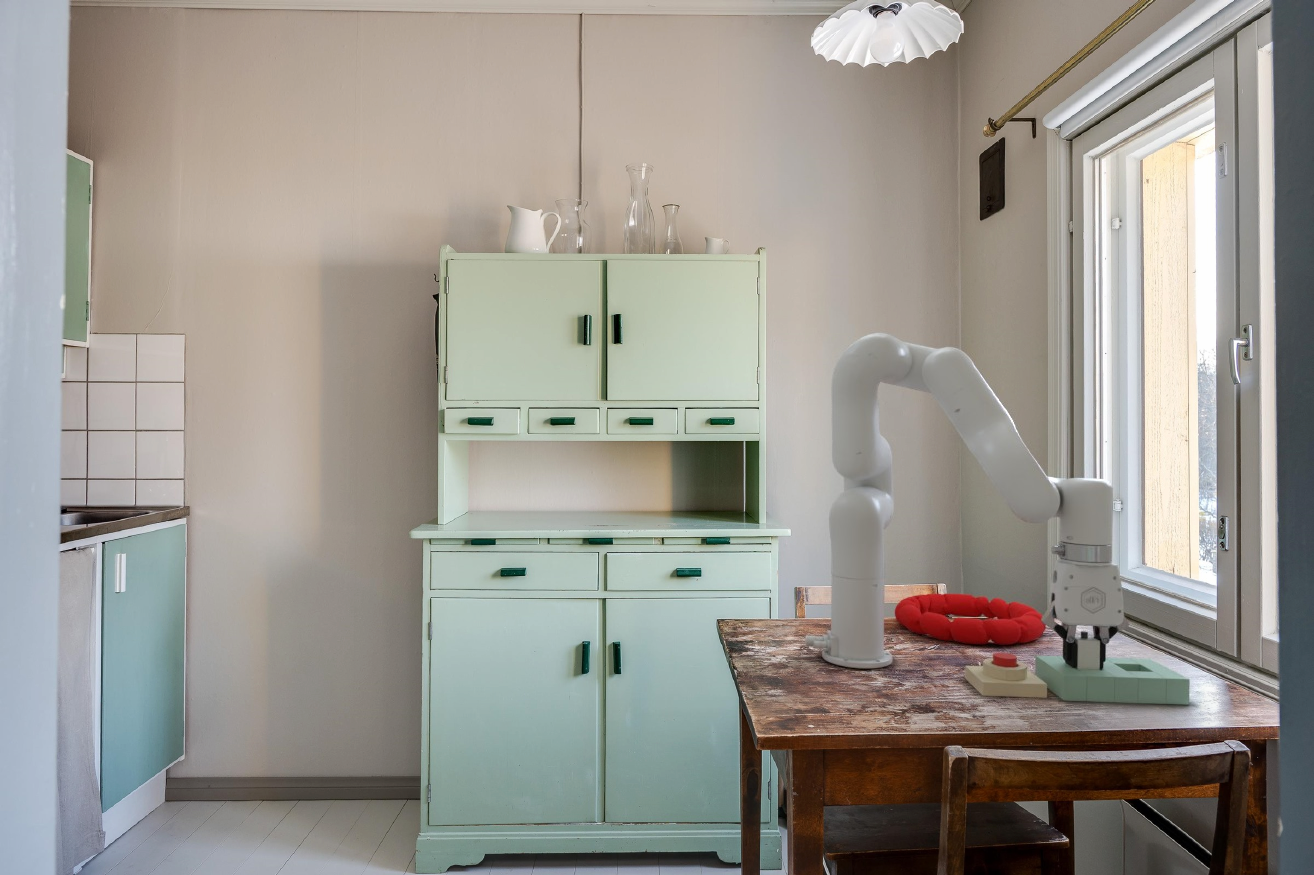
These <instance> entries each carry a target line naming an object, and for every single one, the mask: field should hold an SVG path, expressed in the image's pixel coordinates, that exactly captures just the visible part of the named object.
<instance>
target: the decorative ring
mask: <svg viewBox="0 0 1314 875" xmlns="http://www.w3.org/2000/svg"><path fill="white" fill-rule="evenodd" d="M951 615H952V616H954V617H955V618H953V620H952V621H951V620H950V619H949V617H947V616H951ZM982 615H983V616H984V617H985V618H987V619H984V620H982V619H980V617H981V616H982ZM894 617H895V619H896V621H897V623H898V624H900V625H901V626H903V627H905V628H906V629H907V630H909V631H910V632H912V633H915V634H918V635H928V636H930V637H931V638H934V639H937V640H939V641H944V642H945V641H947V642H949V641H956V642H959V643H962V644H968V645H979V646H983V645H987V644H989V641H992V643H994V644H995V645H998V646H999V645H1000V646H1011V645H1014V644H1016V643H1017V644H1026V643H1030V642H1032V641H1036V640H1037V639H1039V638H1040V637H1042V636H1043V635H1044V632H1045V631H1046V628H1047V625H1045V624H1043V623H1042V622H1041V619H1042V617H1043V614H1042V613H1040V612H1038V611H1037V610H1036V609H1035V608H1034V607H1032V606H1029V605H1027V604H1024V603H1020V602H1017V601H1011V602H1009V603H1007V602H1006V601H1005V600H1004V599H1002V598H1000V597H999V598H998V597H995V598H993V599H991V600H989V598H988V597H987V596H977V597H975V596H974V595H972V594H963V593H943V594H942V593H927V594H916V595H912V596H908V597H906V598H903V599H901V600H900V601H898V603H897V604H896V605H895V608H894Z"/></svg>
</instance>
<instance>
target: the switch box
mask: <svg viewBox="0 0 1314 875" xmlns="http://www.w3.org/2000/svg"><path fill="white" fill-rule="evenodd" d="M964 679H966V681H967V682H968V684H970V685H971V686H972V687H973V688H974V689H975V690H976V691H977V692H978V693H980V695H981V696H985V697H986V696H987V697H1012V698H1013V697H1014V698H1044V699H1046V698H1048V688H1047V684H1046V683H1045V682H1044V681H1042V680H1041V679H1040V678H1038V677H1037V676H1036V675H1035V673H1033V672H1032V671H1030V670H1029V669H1028V665H1027V664H1026V663H1024V662H1022V661H1018V660H1017V667H1001V666H997V665H994V664H993V657H991V658H985V659H984V660H983V661H982V665H964Z"/></svg>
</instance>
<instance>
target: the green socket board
mask: <svg viewBox="0 0 1314 875" xmlns="http://www.w3.org/2000/svg"><path fill="white" fill-rule="evenodd" d="M1034 658H1035V659H1034V660H1035V661H1034V662H1035V664H1034V665H1035V666H1034V675H1036V676H1037V677H1038V678H1040V679H1041V680H1042V681H1044V682H1045V683H1046V684H1047V690H1049V691H1051V692H1052V693H1054V695H1055V696H1057V697H1058V698H1060V699H1061V700H1063V701H1070V702H1096V703H1097V702H1098V703H1100V702H1102V703H1129V704H1152V705H1156V704H1157V705H1181V706H1183V705H1184V706H1185V705H1187V706H1189V705H1190V681H1191V680H1190V678H1188V677H1186V676H1184V675H1182V674H1180V673H1178V672H1176V671H1174V670H1173V669H1171V668H1169V667H1167V666H1164V665H1163V664H1161V663H1159V662H1157V661H1155V660H1153V659H1151V658H1136V657H1135V658H1134V657H1133V658H1131V657H1130V658H1129V657H1106V661H1105V662H1104V667H1103V669H1101V668H1100V670H1077V669H1075V668H1072V667H1071V666H1069V665H1068V664H1066V663H1065V660H1064V659H1063V655H1035V657H1034Z"/></svg>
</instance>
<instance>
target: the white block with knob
mask: <svg viewBox="0 0 1314 875" xmlns="http://www.w3.org/2000/svg"><path fill="white" fill-rule="evenodd" d="M1075 643H1077V645H1078V651H1077V667H1076V668H1075V669H1077V670H1100V641H1099V640H1097V639H1095V638H1094V636H1091V635H1089V632H1088V631H1084V630H1083V631H1082V630H1081V631H1080V634H1079V635H1076V634H1075Z"/></svg>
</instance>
